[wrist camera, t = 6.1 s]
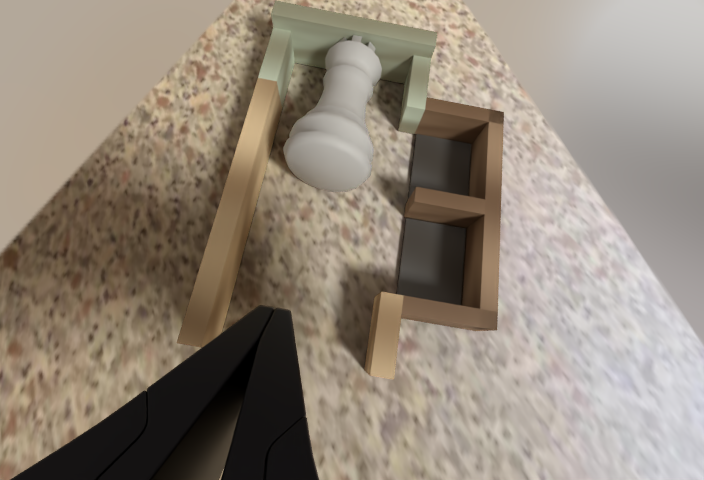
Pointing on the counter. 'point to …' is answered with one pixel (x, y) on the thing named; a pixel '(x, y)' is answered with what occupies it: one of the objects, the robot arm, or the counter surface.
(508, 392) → the counter surface
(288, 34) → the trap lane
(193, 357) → the robot arm
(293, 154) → the rook chess piece
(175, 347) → the counter surface
